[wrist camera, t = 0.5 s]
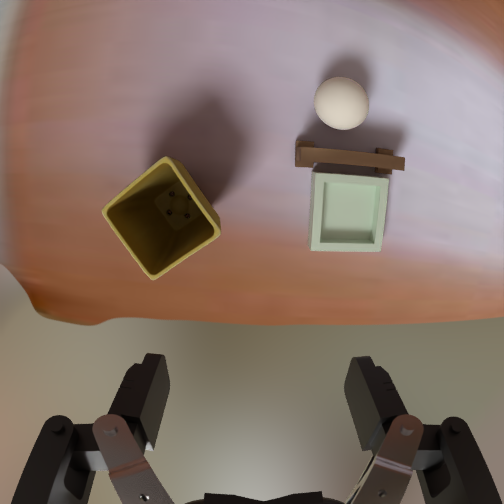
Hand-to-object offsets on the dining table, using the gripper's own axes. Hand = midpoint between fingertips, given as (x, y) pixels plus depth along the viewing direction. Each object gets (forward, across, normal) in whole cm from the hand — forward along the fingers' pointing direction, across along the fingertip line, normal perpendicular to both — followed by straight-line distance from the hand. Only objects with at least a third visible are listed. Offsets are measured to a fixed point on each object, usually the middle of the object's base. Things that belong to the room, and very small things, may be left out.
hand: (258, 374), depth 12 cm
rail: (+25, -11, -8) cm, 29 cm away
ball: (+25, -9, -14) cm, 30 cm away
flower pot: (+25, +9, -2) cm, 27 cm away
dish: (+25, -11, -2) cm, 28 cm away
